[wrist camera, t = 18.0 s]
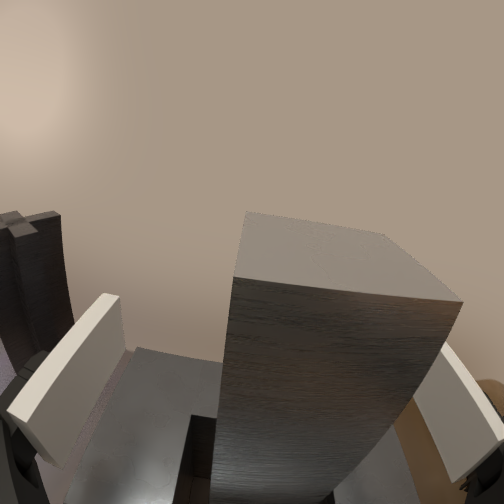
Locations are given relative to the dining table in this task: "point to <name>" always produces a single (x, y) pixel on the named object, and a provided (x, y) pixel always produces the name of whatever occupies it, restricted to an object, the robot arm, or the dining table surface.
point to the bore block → (194, 441)
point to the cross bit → (32, 286)
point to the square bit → (318, 356)
